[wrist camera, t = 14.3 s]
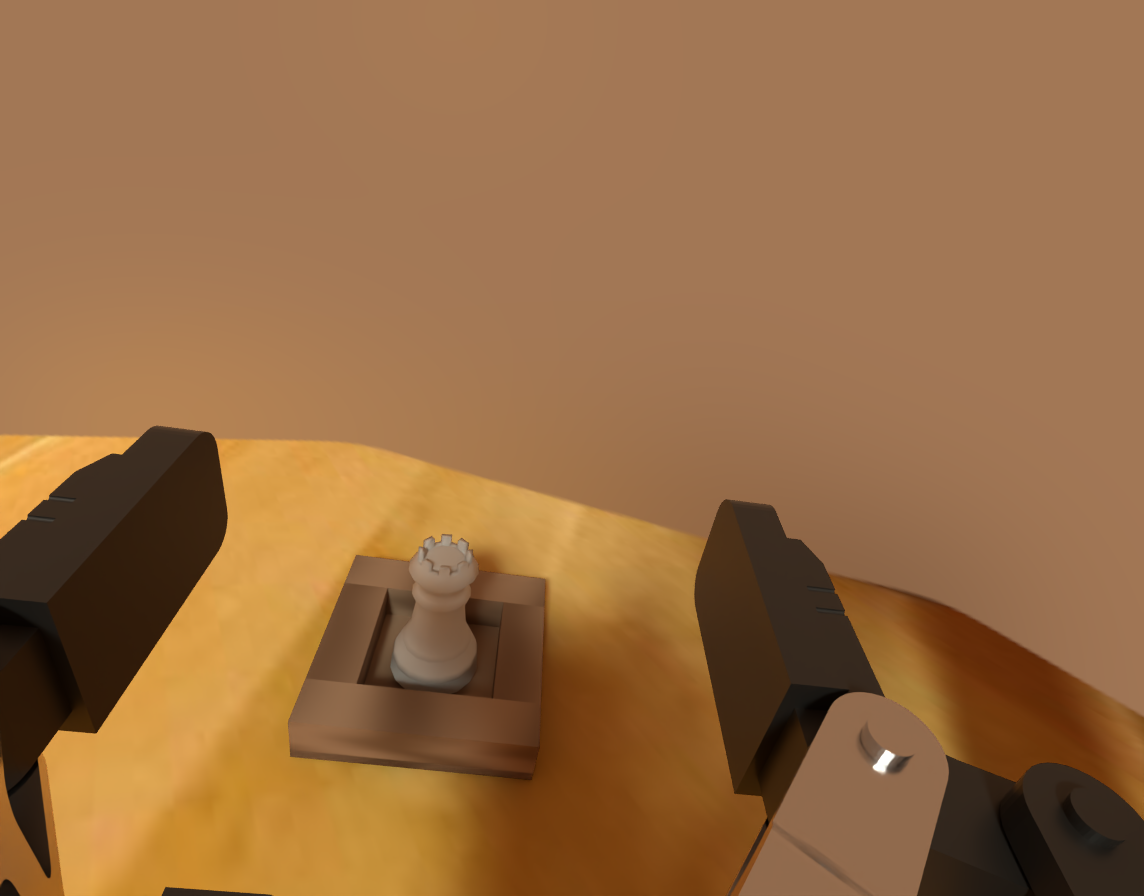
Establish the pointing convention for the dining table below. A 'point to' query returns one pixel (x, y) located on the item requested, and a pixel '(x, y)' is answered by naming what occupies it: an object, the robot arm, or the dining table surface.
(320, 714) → the square tray
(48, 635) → the robot arm
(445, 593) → the rook chess piece
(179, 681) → the dining table surface
